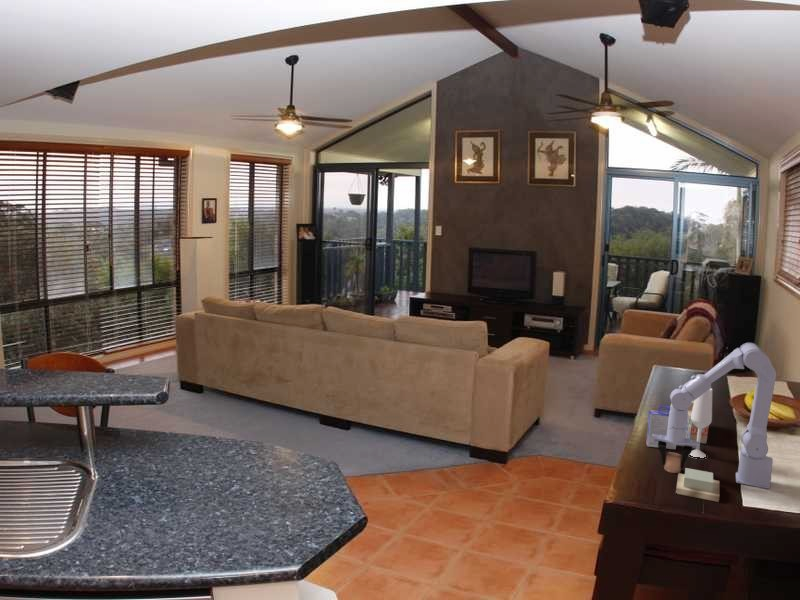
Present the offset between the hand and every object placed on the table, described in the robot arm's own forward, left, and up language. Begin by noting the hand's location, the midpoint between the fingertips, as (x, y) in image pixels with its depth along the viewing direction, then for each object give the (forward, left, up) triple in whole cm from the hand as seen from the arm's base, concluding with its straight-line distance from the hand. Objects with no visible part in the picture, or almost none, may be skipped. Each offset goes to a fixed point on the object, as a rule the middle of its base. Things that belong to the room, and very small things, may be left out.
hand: (672, 465), depth 237 cm
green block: (-8, +12, 0) cm, 14 cm away
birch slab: (-8, +12, -2) cm, 15 cm away
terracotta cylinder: (0, 0, -1) cm, 1 cm away
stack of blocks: (-4, -41, -2) cm, 41 cm away
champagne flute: (-7, -18, -2) cm, 19 cm away
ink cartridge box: (+5, -21, -2) cm, 22 cm away
